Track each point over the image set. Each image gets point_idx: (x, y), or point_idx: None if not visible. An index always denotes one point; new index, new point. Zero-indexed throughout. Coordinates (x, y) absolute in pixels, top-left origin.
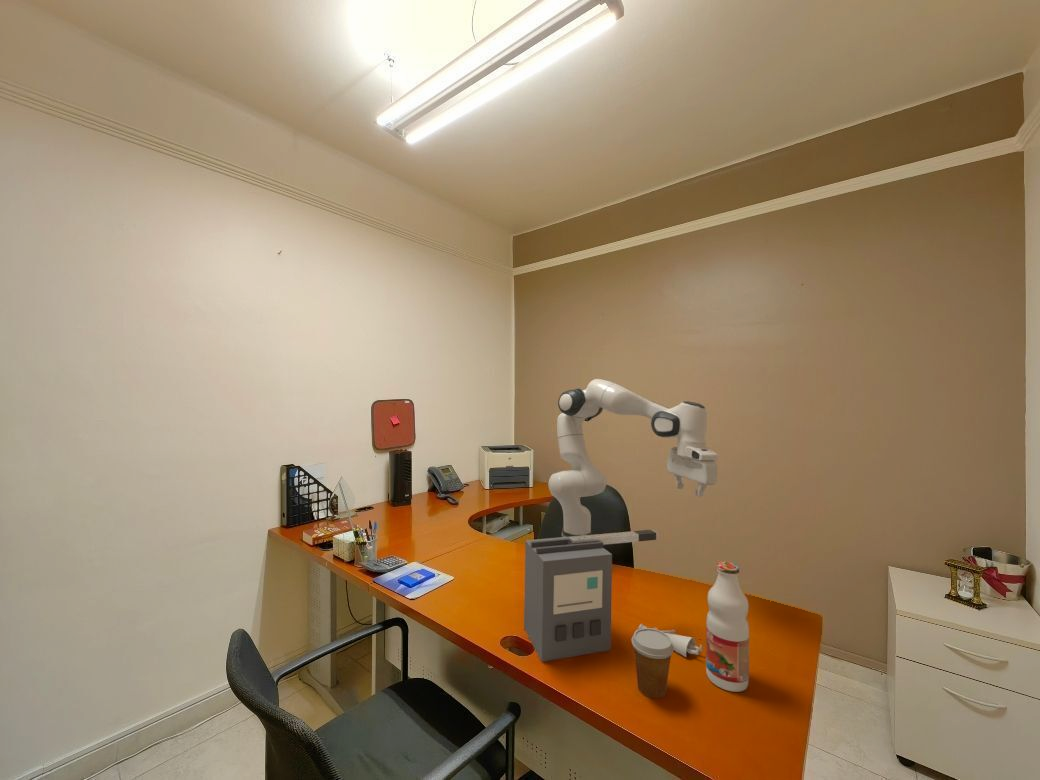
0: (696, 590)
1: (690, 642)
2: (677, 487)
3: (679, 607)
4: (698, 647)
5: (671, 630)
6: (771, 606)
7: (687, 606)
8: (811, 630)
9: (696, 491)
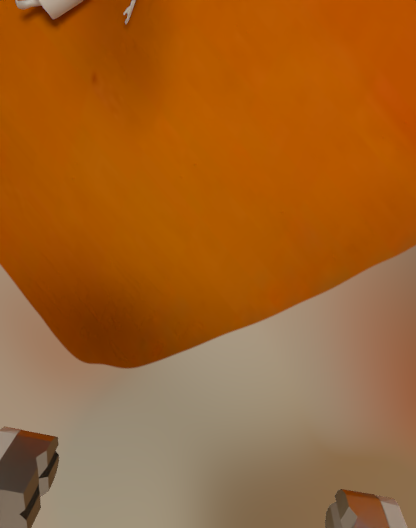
0: (268, 272)
1: (63, 11)
2: (377, 500)
3: (228, 160)
4: (27, 2)
5: (126, 9)
6: (143, 347)
7: (222, 184)
8: (52, 328)
9: (15, 473)
